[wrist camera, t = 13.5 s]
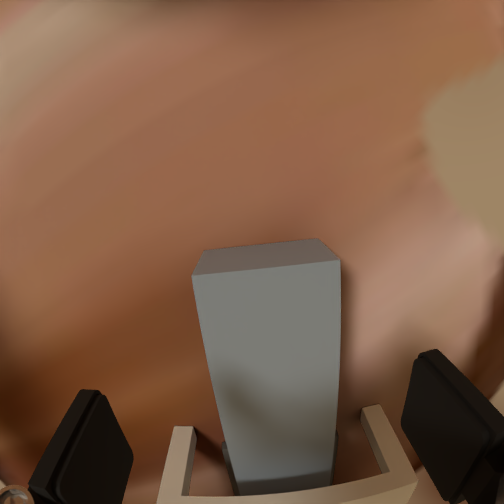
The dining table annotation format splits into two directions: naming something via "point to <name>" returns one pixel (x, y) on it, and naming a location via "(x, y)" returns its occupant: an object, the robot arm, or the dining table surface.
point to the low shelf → (314, 500)
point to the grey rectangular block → (273, 359)
